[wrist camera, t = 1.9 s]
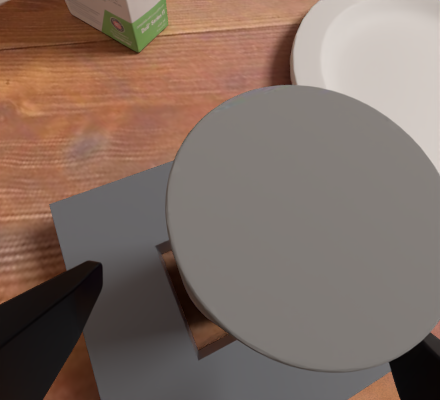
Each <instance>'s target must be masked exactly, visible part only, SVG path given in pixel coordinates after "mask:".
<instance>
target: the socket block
mask: <svg viewBox="0 0 440 400" xmlns="http://www.w3.org/2000/svg"><path fill="white" fill-rule="evenodd" d="M172 164H173V161H171V162H168V163H165V164H163V165H160V166H157V167H154V168H151V169H148V170H146V171H143V172H140V173H137V174H134V175H131V176H129V177H126V178H123V179H120V180H117V181H114V182H112V183H109V184H106V185H103V186H100V187H97V188H94V189H92V190H89V191H86V192H83V193H80V194H77V195H75V196H72V197H69V198H66V199H63V200H60V201H58V202H55V203H52V204H49V205H50V209H51V213H52V217H53V220H54V224H55V228H56V232H57V236H58V239H59V243H60V247H61V251H62V255H63V258H64V262H65V266H66V270H69V269H71V268H73V267H75V266H77V265H79V264H81V263H83V262H85V261H88V260H91V261H97V262H101V263H102V265H103V287H102V290H101V293H100V295H99V297H98V299H97V301H96V303H95V305H94V308H93V310H92V312H91V314H90V316H89V318H88V320H87V323H86V325H85V327H84V329H83V334H84V338H85V342H86V346H87V349H88V353H89V357H90V361H91V364H92V368H93V372H94V376H95V380H96V383H97V387H98V391H99V395H100V399H101V400H347V399H349V398H351V397H352V396H354V395H355V394H357V393H358V392H360V391H361V390H363V389H364V388H366V387H367V386H369V385H370V384H372V383H373V382H375V381H376V380H378V379H379V378H381V377H383V376H384V375H386V374H387V373H389V372H390V371H391V369H390V365H389V362H387V363H385V364H382V365H380V366H376V367H373V368H370V369H365V370H360V371H354V372H344V373H328V372H315V371H310V370H304V369H299V368H296V367H292V366H288V365H285V364H282V363H280V362H277V361H275V360H272V359H270V358H268V357H266V356H264V355H262V354H260V353H258V352H256V351H254V350H252V349H251V348H249V347H247V346H246V345H244V344H242V343H241V342H239V341H238V340H237V339H235V338H234V337H233V336H231V335H230V334H228V335H227V336H225V337H223V338H221V339H219V340H217V341H215V342H213V343H211V344H209V345H208V346H206V347H204V348H202V349H200V350H198V349H197V346H196V343H195V341H194V338H193V335H192V333H191V330H190V328H189V325H188V322H187V320H186V317H185V314H184V312H183V309H182V307H181V304H180V301H179V299H178V296H177V294H176V291H175V288H174V286H173V283H172V280H171V278H170V275H169V273H168V270H167V267H166V265H165V262H164V259H163V257H162V254H163V253H166V252H168V251H170V250H172V249H171V245H170V241H169V237H168V232H167V225H166V215H165V200H166V190H167V183H168V178H169V174H170V171H171V167H172Z"/></svg>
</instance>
